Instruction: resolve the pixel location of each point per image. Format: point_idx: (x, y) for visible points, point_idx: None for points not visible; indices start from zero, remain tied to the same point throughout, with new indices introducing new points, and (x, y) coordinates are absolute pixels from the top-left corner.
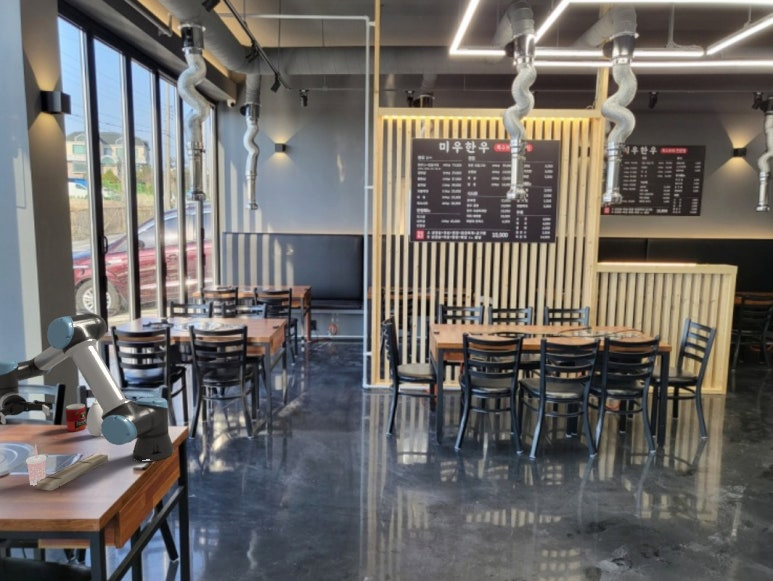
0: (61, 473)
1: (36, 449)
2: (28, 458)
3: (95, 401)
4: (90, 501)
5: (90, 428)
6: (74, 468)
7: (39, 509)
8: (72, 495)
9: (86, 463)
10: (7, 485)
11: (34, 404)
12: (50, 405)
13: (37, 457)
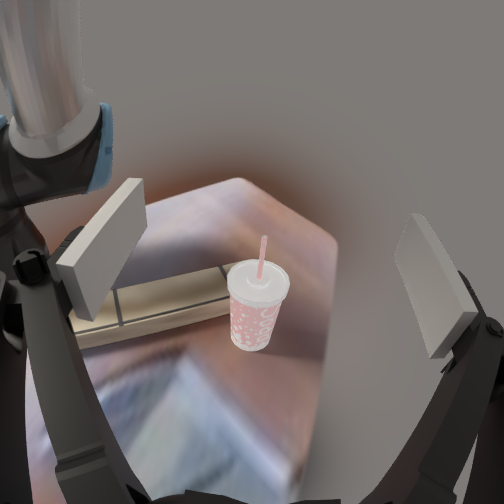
0: (201, 289)
1: (261, 251)
2: (278, 296)
3: None
4: (219, 204)
5: None
6: (161, 292)
7: (289, 230)
8: (227, 233)
9: (122, 297)
10: (318, 380)
11: (76, 370)
12: (14, 286)
13: (255, 277)
